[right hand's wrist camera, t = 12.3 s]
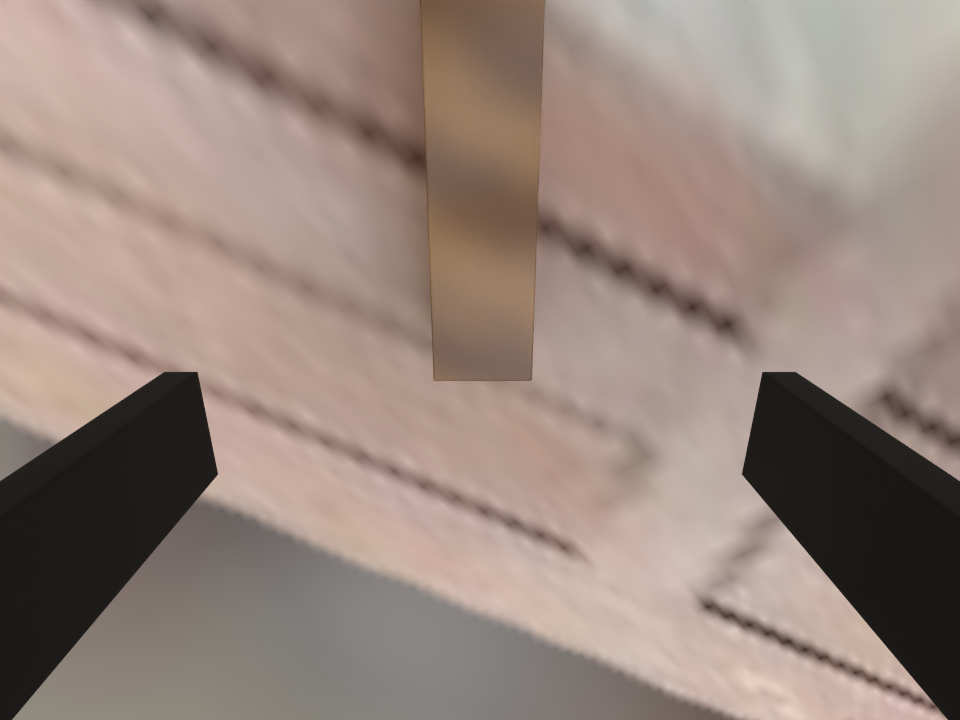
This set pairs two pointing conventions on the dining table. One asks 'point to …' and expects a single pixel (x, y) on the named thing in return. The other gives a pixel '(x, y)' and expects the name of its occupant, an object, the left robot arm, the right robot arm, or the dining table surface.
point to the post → (482, 182)
